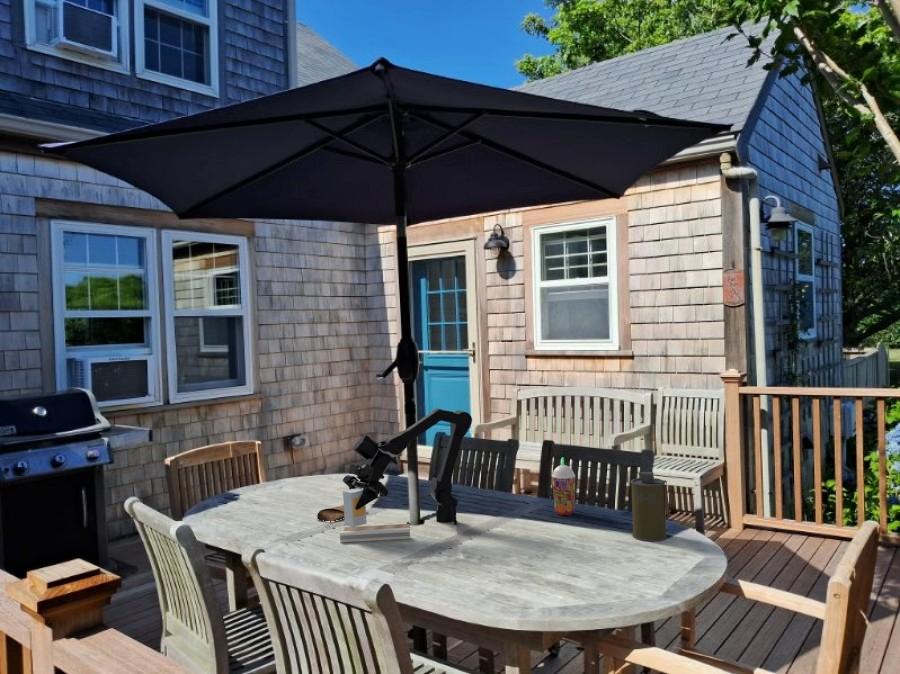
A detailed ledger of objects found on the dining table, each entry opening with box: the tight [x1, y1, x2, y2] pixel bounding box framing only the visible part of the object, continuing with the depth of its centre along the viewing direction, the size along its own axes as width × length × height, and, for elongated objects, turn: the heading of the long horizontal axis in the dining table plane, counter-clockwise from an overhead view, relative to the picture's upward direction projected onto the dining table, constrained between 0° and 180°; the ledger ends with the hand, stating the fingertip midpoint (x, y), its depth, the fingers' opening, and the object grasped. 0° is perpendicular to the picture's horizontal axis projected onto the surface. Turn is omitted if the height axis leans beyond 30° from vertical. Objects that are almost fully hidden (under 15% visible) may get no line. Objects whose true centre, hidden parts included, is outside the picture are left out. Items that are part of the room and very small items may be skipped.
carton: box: [342, 488, 367, 527], centre depth 237 cm, size 6×5×11 cm
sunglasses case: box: [316, 504, 368, 522], centre depth 265 cm, size 18×7×7 cm
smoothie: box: [551, 457, 576, 516], centre depth 257 cm, size 8×8×20 cm
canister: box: [630, 471, 669, 542], centre depth 227 cm, size 11×10×20 cm
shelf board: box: [339, 523, 411, 544], centre depth 239 cm, size 22×18×1 cm
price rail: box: [339, 527, 411, 543], centre depth 231 cm, size 22×2×3 cm, turn 93°
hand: (351, 507), depth 236 cm, fingers closed on carton, 5 cm apart
